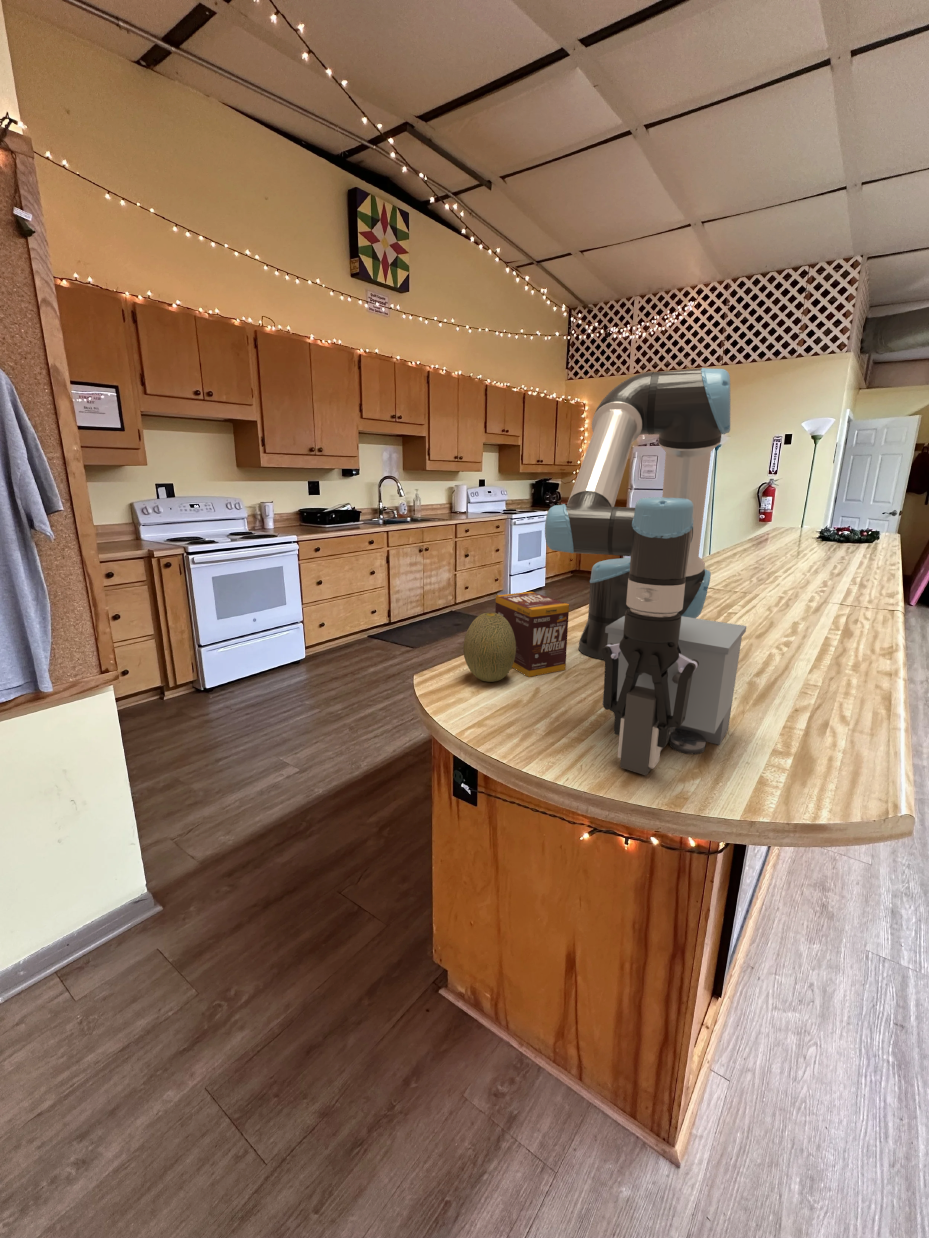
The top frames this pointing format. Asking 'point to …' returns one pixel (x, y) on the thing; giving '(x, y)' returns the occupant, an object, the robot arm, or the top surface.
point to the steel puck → (687, 742)
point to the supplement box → (536, 631)
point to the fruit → (489, 647)
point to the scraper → (639, 729)
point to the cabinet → (697, 673)
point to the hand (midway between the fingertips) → (638, 758)
